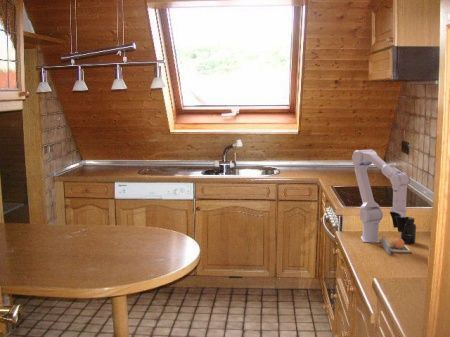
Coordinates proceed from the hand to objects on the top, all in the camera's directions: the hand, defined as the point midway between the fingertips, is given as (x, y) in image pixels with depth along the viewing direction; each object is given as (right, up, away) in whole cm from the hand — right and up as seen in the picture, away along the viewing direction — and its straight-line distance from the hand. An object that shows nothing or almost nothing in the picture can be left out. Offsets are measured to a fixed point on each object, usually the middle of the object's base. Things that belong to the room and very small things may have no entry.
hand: (398, 229), depth 234 cm
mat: (0, -9, +1) cm, 9 cm away
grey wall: (-5, -9, +2) cm, 11 cm away
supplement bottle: (+9, -8, +13) cm, 18 cm away
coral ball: (0, -6, +1) cm, 7 cm away
